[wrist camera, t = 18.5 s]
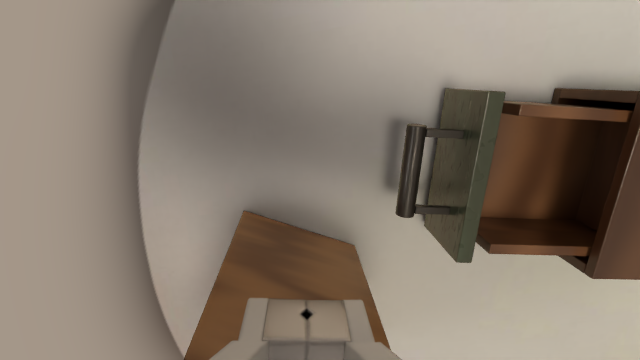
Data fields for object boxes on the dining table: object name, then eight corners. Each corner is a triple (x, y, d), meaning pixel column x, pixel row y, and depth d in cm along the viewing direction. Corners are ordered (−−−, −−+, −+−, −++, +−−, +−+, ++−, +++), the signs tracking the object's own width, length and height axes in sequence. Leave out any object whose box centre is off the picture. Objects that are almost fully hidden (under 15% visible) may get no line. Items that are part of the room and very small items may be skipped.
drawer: (379, 224, 32) (400, 261, 25) (395, 85, 28) (425, 86, 22) (570, 230, 33) (636, 267, 27) (607, 98, 30) (693, 103, 23)
